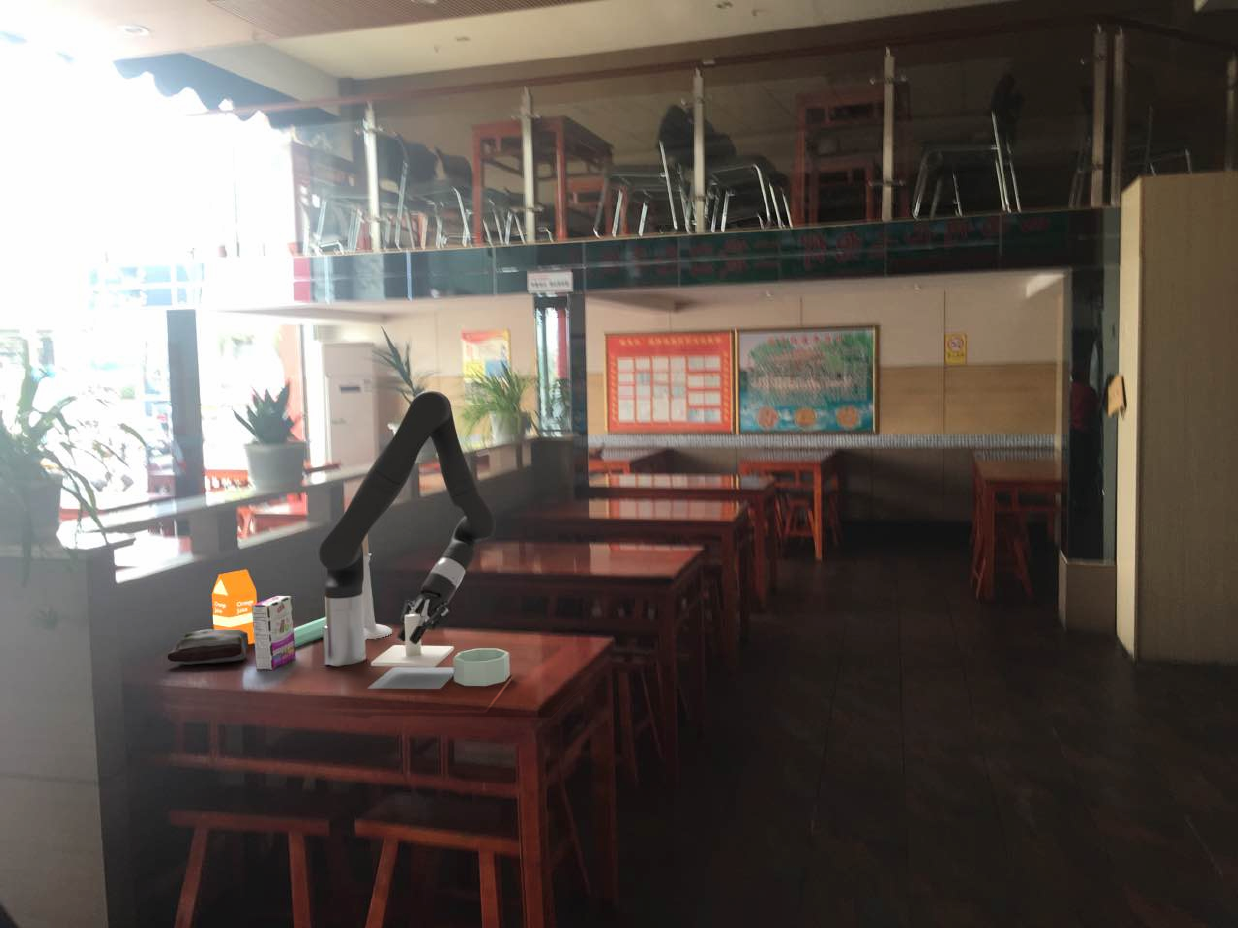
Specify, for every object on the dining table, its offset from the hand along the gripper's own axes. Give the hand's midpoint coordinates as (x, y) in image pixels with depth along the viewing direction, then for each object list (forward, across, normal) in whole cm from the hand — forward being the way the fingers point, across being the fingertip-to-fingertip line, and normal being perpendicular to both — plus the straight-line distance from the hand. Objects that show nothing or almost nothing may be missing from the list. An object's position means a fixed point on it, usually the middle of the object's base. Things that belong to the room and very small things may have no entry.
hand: (406, 640), depth 228 cm
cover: (+2, 0, +4) cm, 5 cm away
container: (0, -54, +16) cm, 57 cm away
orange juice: (+8, -70, +8) cm, 71 cm away
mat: (+5, 0, +8) cm, 10 cm away
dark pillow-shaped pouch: (+18, -57, -2) cm, 60 cm away
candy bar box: (+12, -42, +3) cm, 44 cm away
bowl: (0, +14, +14) cm, 20 cm away
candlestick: (-11, -45, +26) cm, 53 cm away
